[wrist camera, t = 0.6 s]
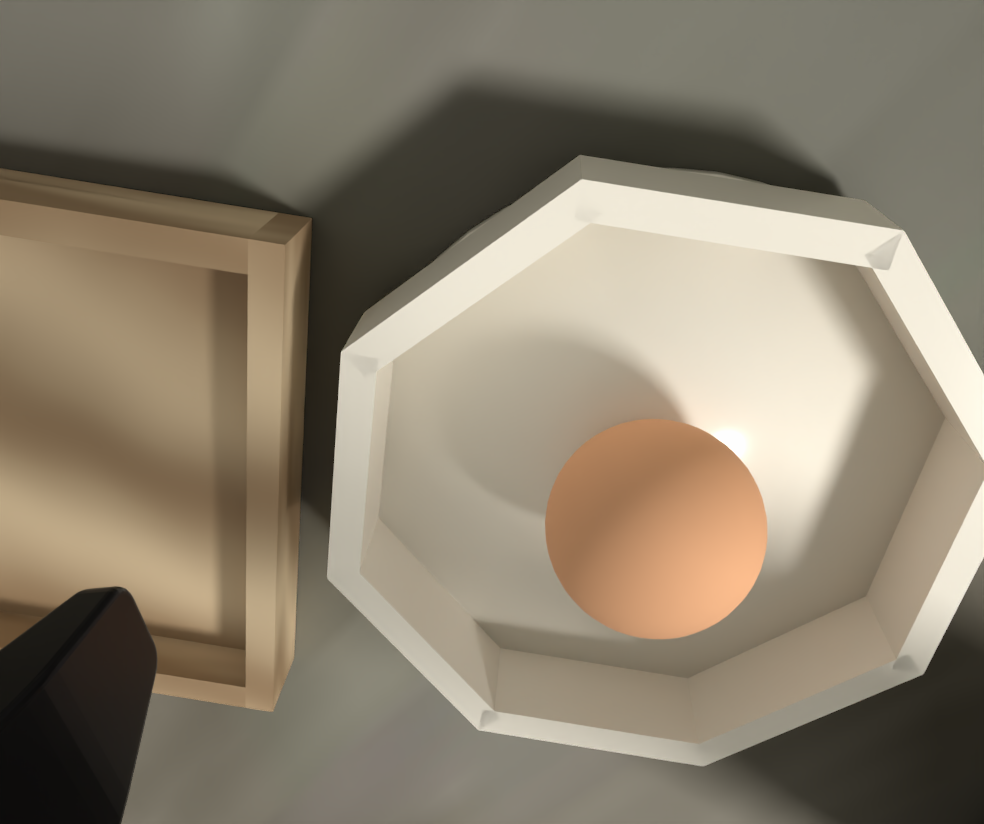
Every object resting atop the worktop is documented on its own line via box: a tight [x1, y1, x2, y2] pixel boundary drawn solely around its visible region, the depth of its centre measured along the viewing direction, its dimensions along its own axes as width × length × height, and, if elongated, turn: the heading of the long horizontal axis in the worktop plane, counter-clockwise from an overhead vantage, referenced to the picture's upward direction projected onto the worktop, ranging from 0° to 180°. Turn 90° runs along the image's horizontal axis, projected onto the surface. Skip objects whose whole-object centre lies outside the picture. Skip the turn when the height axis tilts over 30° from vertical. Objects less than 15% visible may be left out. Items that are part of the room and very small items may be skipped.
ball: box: [545, 419, 767, 639], centre depth 20 cm, size 5×5×5 cm
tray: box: [0, 168, 312, 712], centre depth 22 cm, size 14×14×2 cm
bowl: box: [327, 155, 984, 766], centre depth 21 cm, size 15×15×3 cm
